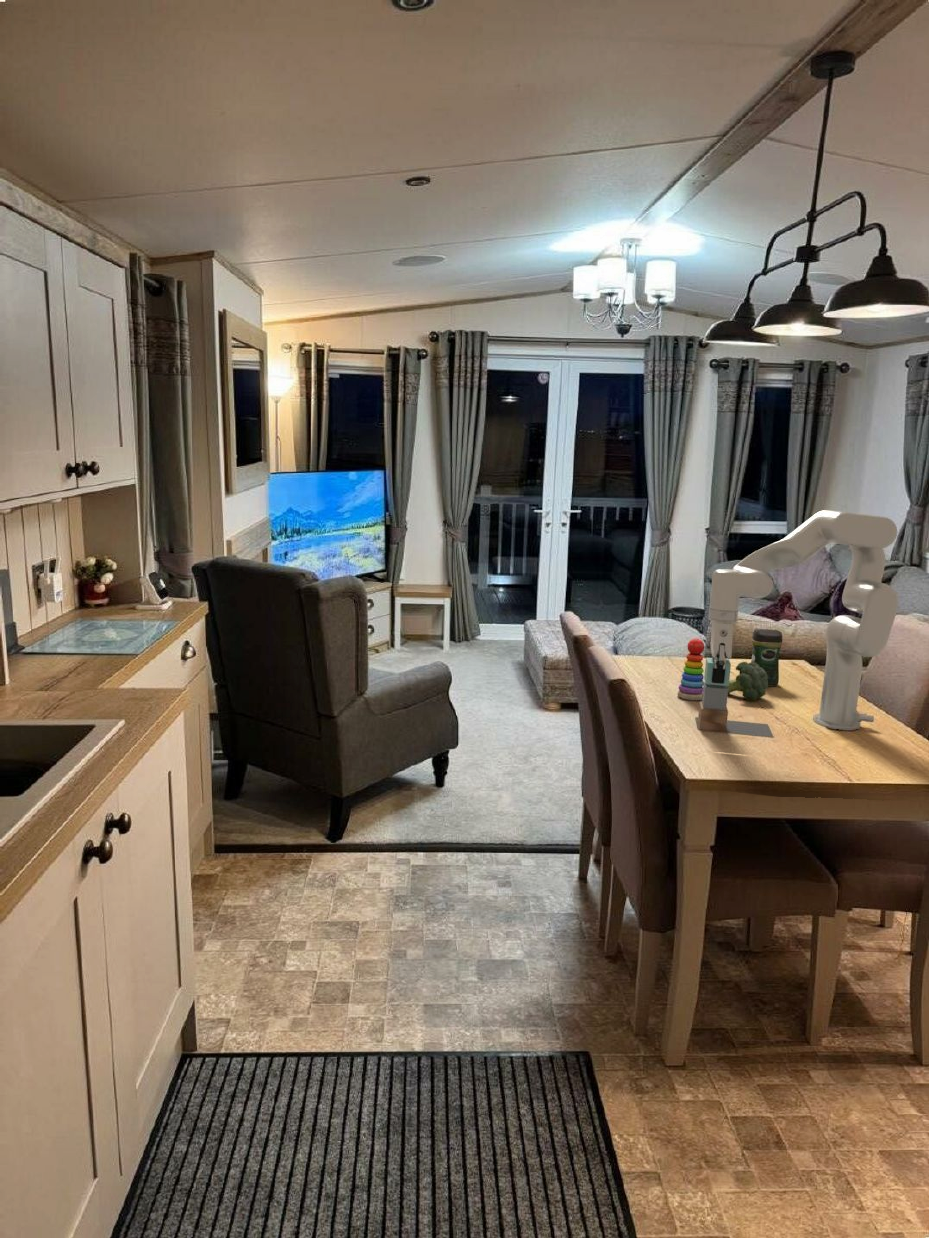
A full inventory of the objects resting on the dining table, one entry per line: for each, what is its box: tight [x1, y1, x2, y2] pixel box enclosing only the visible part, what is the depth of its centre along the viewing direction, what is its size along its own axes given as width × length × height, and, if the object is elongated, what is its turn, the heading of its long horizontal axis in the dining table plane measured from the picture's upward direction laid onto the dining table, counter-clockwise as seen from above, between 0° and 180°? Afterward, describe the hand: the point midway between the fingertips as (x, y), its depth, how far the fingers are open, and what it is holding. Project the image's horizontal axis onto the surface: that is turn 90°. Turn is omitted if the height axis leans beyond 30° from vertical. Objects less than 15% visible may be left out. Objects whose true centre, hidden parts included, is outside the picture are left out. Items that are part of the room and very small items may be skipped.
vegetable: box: [727, 661, 769, 702], centre depth 270 cm, size 12×13×15 cm
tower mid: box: [701, 681, 729, 710], centre depth 236 cm, size 6×6×6 cm
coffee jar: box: [750, 628, 783, 687], centre depth 286 cm, size 10×8×19 cm
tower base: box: [698, 701, 729, 733], centre depth 237 cm, size 7×7×6 cm
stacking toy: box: [677, 638, 705, 701], centre depth 266 cm, size 8×8×19 cm
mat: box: [694, 716, 775, 739], centre depth 239 cm, size 20×12×1 cm, turn 79°
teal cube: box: [703, 657, 732, 686], centre depth 235 cm, size 6×6×6 cm
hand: (716, 679), depth 235 cm, fingers closed on teal cube, 5 cm apart
